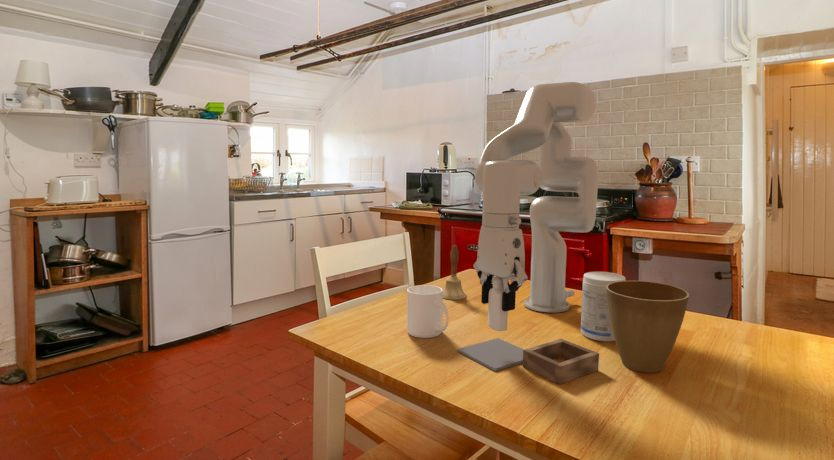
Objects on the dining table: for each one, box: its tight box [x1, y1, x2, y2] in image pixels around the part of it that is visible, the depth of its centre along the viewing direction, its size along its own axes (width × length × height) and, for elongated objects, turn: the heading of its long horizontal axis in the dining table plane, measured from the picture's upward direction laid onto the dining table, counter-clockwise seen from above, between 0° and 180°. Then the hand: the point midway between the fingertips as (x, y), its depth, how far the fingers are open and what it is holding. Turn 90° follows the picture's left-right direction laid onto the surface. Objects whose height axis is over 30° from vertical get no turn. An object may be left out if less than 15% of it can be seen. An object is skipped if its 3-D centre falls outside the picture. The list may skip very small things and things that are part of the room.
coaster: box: [456, 337, 525, 372], centre depth 102 cm, size 12×12×1 cm
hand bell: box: [443, 244, 467, 301], centre depth 146 cm, size 8×8×16 cm
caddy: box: [522, 338, 600, 385], centre depth 95 cm, size 11×9×4 cm
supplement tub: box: [580, 271, 627, 343], centre depth 113 cm, size 10×10×15 cm
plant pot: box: [606, 280, 690, 373], centre depth 96 cm, size 15×15×16 cm
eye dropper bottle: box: [487, 276, 509, 332], centre depth 100 cm, size 4×6×12 cm
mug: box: [406, 284, 449, 339], centre depth 113 cm, size 9×12×11 cm
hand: (497, 305), depth 100 cm, fingers closed on eye dropper bottle, 5 cm apart
